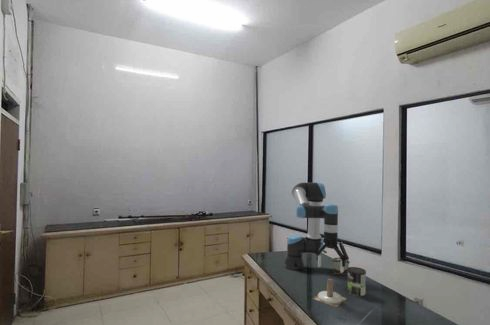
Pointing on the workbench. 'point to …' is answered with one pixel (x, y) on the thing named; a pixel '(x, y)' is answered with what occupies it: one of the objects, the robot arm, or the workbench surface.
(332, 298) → the lid
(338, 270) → the food container
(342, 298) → the mat
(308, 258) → the workbench surface
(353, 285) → the coffee can
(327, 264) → the workbench surface
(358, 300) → the workbench surface
